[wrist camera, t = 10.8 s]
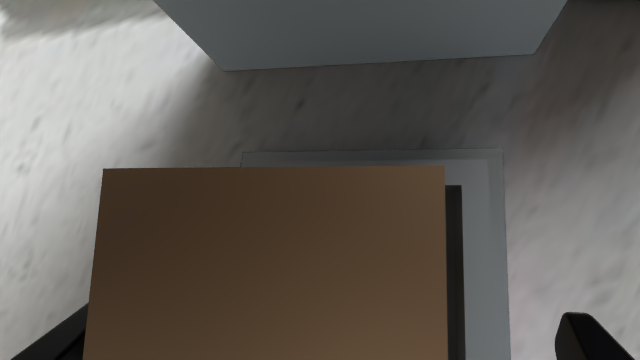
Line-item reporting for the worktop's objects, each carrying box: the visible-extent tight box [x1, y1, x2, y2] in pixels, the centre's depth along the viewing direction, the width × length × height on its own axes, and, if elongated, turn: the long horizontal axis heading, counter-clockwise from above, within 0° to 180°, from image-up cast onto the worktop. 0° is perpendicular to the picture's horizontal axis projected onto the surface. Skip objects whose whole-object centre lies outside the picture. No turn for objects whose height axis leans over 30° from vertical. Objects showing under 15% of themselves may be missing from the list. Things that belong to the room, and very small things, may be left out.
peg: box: [83, 166, 448, 360], centre depth 10 cm, size 4×4×12 cm
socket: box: [241, 148, 511, 360], centre depth 16 cm, size 10×10×4 cm
